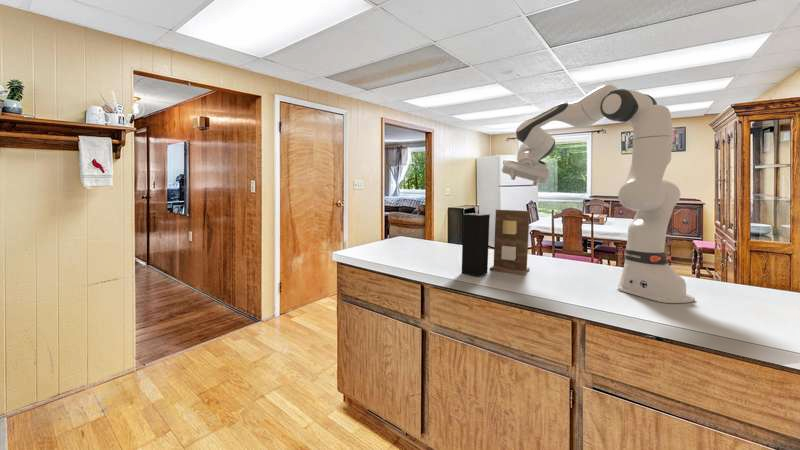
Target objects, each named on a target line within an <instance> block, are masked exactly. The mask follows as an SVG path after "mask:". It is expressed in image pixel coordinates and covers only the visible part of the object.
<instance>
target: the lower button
mask: <svg viewBox="0 0 800 450" xmlns="http://www.w3.org/2000/svg"><path fill="white" fill-rule="evenodd" d="M515 258H516V247H509V246H502V255H501V259H505V260H513V261H515Z"/></svg>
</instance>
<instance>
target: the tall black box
mask: <svg viewBox="0 0 800 450" xmlns="http://www.w3.org/2000/svg"><path fill="white" fill-rule="evenodd" d="M479 210H480V206H474V212H475V213H474V212H472V213H463V214H462V219H463V220H462V243H461V244H462V248H461V252H462V253H461V274H463V275H467V276H468V275H469V276H472V277H480V276H483V275H486V274H488V267H489V266H488V265H489V245H490V244H489V239H490V217H491V216H490V215H491V214H489V213H479Z"/></svg>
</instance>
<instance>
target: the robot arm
mask: <svg viewBox="0 0 800 450" xmlns="http://www.w3.org/2000/svg"><path fill="white" fill-rule="evenodd" d="M604 118H606V119H608V120H610V121H613V122H619V123H622V124H626V125H627V124H628V125H629V124H630V125H631V126H632V129H633V130H632V131H633V133H632V134H633V135H632V154H631V164H630V168H629V171H628V174H627V177H626V180H625V182H624V184H623V185H622V186H621V187H620V188H619V191H618V196H617V197H618V201H619V203H620V205H622V207H623V208H625V209H627V210H630V211H633V212H636V213H635V215H634V217H633V219H632V221H631V223H630V224H629V226H628V228H627V239H626V248H625V249H624V257H623V258H624V264H623V268H622V273H621V277H620V280H619V282H618V285H617V286H618V287H617V290H618V291H620V292H622V293H628V294H631V295H633V296H634V295H635V296H638V297H641V298H645V299H648V300H652V301H655V302H659V303H666V304H684V303H685V304H686V303H691V302H692V303H693V302H694V301H695V300H696V298H695V296H693V295H691V294H688V293H687V283H686V281H685V279H684V278H683V277H682V276H681V275H680V274H679V273H678V272H676V270H674V268H672V266H671V265H670V264H669V261H671V260H672V255H667V252H666V251H665V248H666V238H667V237H666V236H667V230H668V226H669V223H670V219H671V217H672V214H673V211H674V208H675V206H676V205H677V204H678V202H679V201H680V200H681V199H680V198H681V191H680V188H679V187H678V186H677V185H676V184H675V183H673V182H671V181H669V180H665V179H664V176H665V172H666V170H667V167H668V165H669V164H670V162H671V160H672V149H673V148H672V147H673V122H672V121H673V120H672V115H671V111H670V109H669V107H667V106H665V105H661V104H657V100H656V98H654V97H653V96H652V95H649V94H645V93H642V92H640V91H637V90H632V89H624V88H619V89H618V87H617V86H616V85H613V84H610V83H609V84H608V83H607V84H604V85H602V86H599V87H597V88H596V89H593V90H592V91H590V92H588V94H585V96H583V97H581V98H580V99H578V100H575V101H572V102H566V101H565V102H561V103H558V104H556V105H554V106H552V107H551V108H549V109H547V110H545V111H543V112H541V113H539V114H538V115H536V116H534V117H532V118H530V119H527V120H525V121H523V122H522V123H521V124H519V126H518V127H517V128H516V130H515V134H516V135H515V137H516V140H518V141H519V142H521V143H522V144H521V145H520V146H519V148H518V150H517V155H516V157H517V158H516V160H514V159H510V158H508V159H507V158H506V159H504V160H502V164H503V166H502V169H501V172H502V173H503V174H505V175H506V174H507V175H509V177H510V180H513V181H515V180H516V178H517V177H518V178H522V179H525V180H528V181H533V182H532V186H536V187H537V185H538V184H539V183H540V184H543V185H546V184H547V183H548V182H549V179H550V171H549V168H548V163H547V162H545V161H542V160H543V159H545V158H547V157H548V156H550V155H551V154H552V152H553V151H554V149H555V145H556V139H555V138H554V137H553V136H552V135H551V134H549V133H548V132H547V131H546V130H544V129H543V128H542V127H543V126H545V125H547V124H549V123H551V122H555V121H557V122H561V123H564V124H568V125H570V126H572V127H575V128H588V127H590V126H592V125H594V124H596V123H597V122H599V121H600V120H602V119H604Z"/></svg>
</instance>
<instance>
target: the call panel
mask: <svg viewBox="0 0 800 450" xmlns="http://www.w3.org/2000/svg"><path fill="white" fill-rule="evenodd" d="M530 213H531V212H530V210H514V209H499V208H498V209H495V219H494V220H495V222H494V224H495V225H494V241H493V242H494V249H493V266H490V267H489V271H493V272H499V273H507V274H513V275H519V276H525V274H527V273H528V272H529V271H530V267H528V255H529V254H528V253H529V235H530V234H529V233H530V232H529V230H530ZM503 220H509V221H517V232H516V235H514V234H503V233H502V231H503ZM502 246H509V247H516V257H515V261H513V260H505V259H501V255H502Z"/></svg>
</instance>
